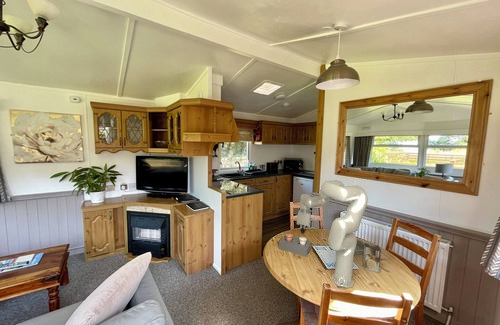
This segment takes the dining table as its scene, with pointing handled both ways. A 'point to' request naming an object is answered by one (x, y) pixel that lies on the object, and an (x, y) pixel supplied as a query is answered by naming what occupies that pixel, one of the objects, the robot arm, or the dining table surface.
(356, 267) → the dining table surface
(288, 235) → the plunger terracotta
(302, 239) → the plunger white
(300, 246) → the console
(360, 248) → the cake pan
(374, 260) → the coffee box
